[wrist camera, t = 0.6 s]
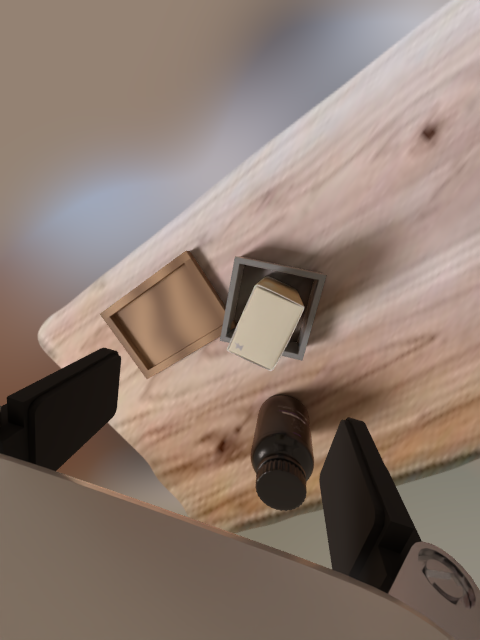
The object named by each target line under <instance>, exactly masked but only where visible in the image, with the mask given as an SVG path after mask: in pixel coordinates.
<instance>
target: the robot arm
mask: <svg viewBox="0 0 480 640" xmlns="http://www.w3.org/2000/svg"><path fill="white" fill-rule="evenodd" d="M120 366H121V356H119V355H118V352H117V351H114V350H111V349H107V348H101V349H99V350H97V351H95V352H93V353H91V354H89V355H87V356H86V357H84V358H82V359H80V360H78V361H76V362H74V363H72V364H70V365H68V366H66V367H64V368H62V369H60V370H58V371H56V372H54V373H53V374H50V375H49V376H47V377H45V378H43V379H41V380H39V381H37V382H35V383H33V384H31V385H29V386H27V387H25V388H23V389H21V390H19V391H17V392H16V393H13V394H12V395H10V396H8V397H7V404H5V405H3V406H0V640H480V590H479V588H478V587H477V585H476V584H475V582H474V581H473V579H472V577H471V576H470V575H469V574H468V573H467V572H466V570H465V569H464V568H463V567H462V566H461V565H460V564H459V563H458V562H457V561H456V560H455V559H454V558H453V557H452V556H450V555H449V554H448V553H446V552H445V551H443V550H442V549H440V548H439V547H437V546H435V545H433V544H430V543H426V542H423V541H421V539H420V537H419V535H418V533H417V530H416V528H415V526H414V524H413V522H412V520H411V518H410V516H409V514H408V512H407V509H406V507H405V505H404V503H403V501H402V499H401V497H400V495H399V492H398V490H397V488H396V486H395V484H394V482H393V480H392V478H391V476H390V473H389V471H388V470H387V468H386V466H385V465H384V463H383V461H382V458H381V456H380V454H379V452H378V450H377V448H376V446H375V443H374V441H373V439H372V437H371V435H370V433H369V431H368V429H367V426H366V424H365V423H364V422H363V421H359V420H356V419H352V418H349V417H348V418H347V419H346V420H341V422H340V424H339V427H338V429H337V432H336V434H335V437H334V439H333V442H332V445H331V447H330V450H329V452H328V455H327V458H326V460H325V463H324V465H323V468H322V470H321V473H320V489H321V496H322V503H323V509H324V516H325V522H326V529H327V536H328V543H329V550H330V556H331V563H332V569H329V568H326V567H323V566H321V565H318V564H316V563H313V562H310V561H308V560H305V559H303V558H300V557H297V556H295V555H292V554H289V553H287V552H284V551H281V550H278V549H275V548H273V547H269V546H267V545H264V544H261V543H259V542H256V541H253V540H250V539H248V538H244V537H242V536H239V535H236V534H234V533H231V532H228V531H225V530H222V529H220V528H217V527H214V526H211V525H208V524H206V523H203V522H200V521H197V520H194V519H191V518H189V517H186V516H183V515H180V514H177V513H174V512H171V511H169V510H166V509H163V508H160V507H157V506H154V505H152V504H149V503H145V502H143V501H140V500H137V499H134V498H132V497H128V496H126V495H123V494H120V493H117V492H114V491H111V490H108V489H106V488H103V487H100V486H97V485H94V484H91V483H88V482H85V481H82V480H79V479H76V478H74V477H71V476H68V475H65V474H62V473H59V472H56V470H57V469H59V468H60V467H61V466H62V465H63V464H64V463H65V462H66V461H67V460H68V459H69V458H70V457H71V456H72V455H73V454H74V453H76V452H77V450H79V449H80V448H81V447H82V446H83V445H84V444H85V443H86V442H87V441H88V440H89V439H90V438H91V437H92V436H93V435H95V434H96V433H97V432H98V431H99V430H100V429H101V428H102V427H103V426H104V425H105V424H106V423H107V422H108V421H109V420H110V419H111V418H112V417H113V416H114V415H115V413H116V410H117V400H118V389H119V377H120Z"/></svg>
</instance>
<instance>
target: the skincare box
mask: <svg viewBox="0 0 480 640" xmlns="http://www.w3.org/2000/svg"><path fill="white" fill-rule="evenodd" d="M304 308H305V307H304V305H303V303H302V301H301V298H300V296H299V294H298V292H297V290H296V289H295V288H293V287H291V286H289V285H286V284H284V283H282V282H280V281H278V280H276V279H274V278H271V277H269V276H265V277H264V278H263V279H262V280H261V281H260V282H258V283H257V284H256V285H255V286H254V288H253V291H252V293H251V295H250V297H249V299H248V302H247V304H246V306H245V308H244V311H243V313H242V315H241V317H240V320H239V322H238V325H237V327H236V329H235V331H234V334H233V336H232V338H231V341H230V343H229V345H228V348H227V351H229V352H231V353H233V354H235V355H237V356H239V357H241V358H243V359H245V360H247V361H249V362H251V363H253V364H256V365H258V366H260V367H262V368H265V369H267V370H270V371H272V370H273V369H274V368H275V366H276V364H277V363H278V361H279V359H280V357H281V356H282V354H283V352H284V350H285V348H286V346H287V344H288V342H289V340H290V338H291V336H292V334H293V332H294V330H295V328H296V326H297V324H298V321H299V319H300V317H301V315H302V313H303V311H304Z"/></svg>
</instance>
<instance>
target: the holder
mask: <svg viewBox="0 0 480 640" xmlns="http://www.w3.org/2000/svg"><path fill="white" fill-rule="evenodd" d="M244 265H249V266H254V267H259V268H264V269H268V270H273V271H278V272H283V273H288V274H292V275H297V276H302V277H307V278H312V279H314V281H313V285H312V289H311V292H310V296H309V300H308V303H307V307H306V311H305V314H304V318H303V322H302V326H301V329H300V333H299V337H298V340H297V343H296V342H292V341H289V342H288V344H287V346H286V348H285V350H284V352H283V354H282V356H285V357H289V358H294V359H298V360H303V357H304V353H305V350H306V346H307V342H308V339H309V335H310V332H311V328H312V325H313V321H314V318H315V314H316V311H317V307H318V304H319V300H320V297H321V293H322V290H323V286H324V283H325V279H326V276H327V275H325V274H323V273H320V272H315V271H310V270H305V269H301V268H296V267H291V266H286V265H281V264H276V263H271V262H266V261H261V260H257V259H252V258H247V257H242V256H239V257H235V259H234V265H233V271H232V276H231V282H230V287H229V293H228V298H227V304H226V309H225V315H224V320H223V326H222V332H221V337H220V341H224V342H228V343H230V341H231V338H232V336H233V334H234V331H235V329H236V328H233V329H231V324H232V321H233V320H234V317H235V312H236V307H237V301H238V296H239V291H240V286H241V281H242V275H243V270H244ZM230 329H231V330H230Z"/></svg>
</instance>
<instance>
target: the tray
mask: <svg viewBox="0 0 480 640" xmlns="http://www.w3.org/2000/svg"><path fill="white" fill-rule="evenodd" d="M225 309H226V306H225V305H224V303H223V301H222V300H221V298H220V297H219V295H218V294H217V292H216V291H215V289H214V288H213V286H212V284H211V283H210V281H209V280H208V278H207V277H206V275H205V274H204V272H203V271H202V269H201V267H200V266H199V264H198V263H197V261H196V260H195V258H194V257H193V255H192V254H191V252H190V251H185V252H184V253H182V254H181V255H180V256H178V257H177V258H175V259H174V260H173V261H171V262H170V263H169V264H167V265H166V266H165V267H163V268H162V269H161V270H159V271H158V272H156V273H155V274H154V275H152V276H151V277H150V278H148V279H147V280H146V281H144V282H143V283H142V284H140V285H139V286H137V287H136V288H135V289H133V290H132V291H131V292H129V293H128V294H127V295H125V296H124V297H123V298H121V299H120V300H118V301H117V302H116V303H114V304H113V305H112V306H110V307H109V308H108V309H106V310H105V311H104V312H102V313H101V314H100V315H101V316H102V318H103V319H104V320H105V322H106V323H107V325H108V326H109V327H110V329H111V330H112V332H113V333H114V334H115V336H116V337H117V338H118V340H119V341H120V343H121V344H122V345H123V347H124V348H125V350H126V351H127V352H128V354H129V355H130V357H131V358H132V359H133V361H134V362H135V363H136V365H137V366H138V368H139V369H140V370H141V372H142V373H143V375H144V376H145V377H146V379H148V378H150V377H152V376H153V375H155V374H157V373H158V372H160V371H162V370H164V369H165V368H167V367H169V366H170V365H172V364H174V363H175V362H177V361H179V360H181V359H182V358H184V357H186V356H187V355H189V354H191V353H192V352H194V351H196V350H197V349H199V348H201V347H203V346H204V345H206V344H208V343H209V342H211V341H213V340H214V339H216V338H218V337H220V336H221V332H222V326H223V320H224V315H225ZM236 325H237V323H236V322H235V320H233V321H232V324H231V329H233V328H235V327H236ZM231 329H230V330H231Z"/></svg>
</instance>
